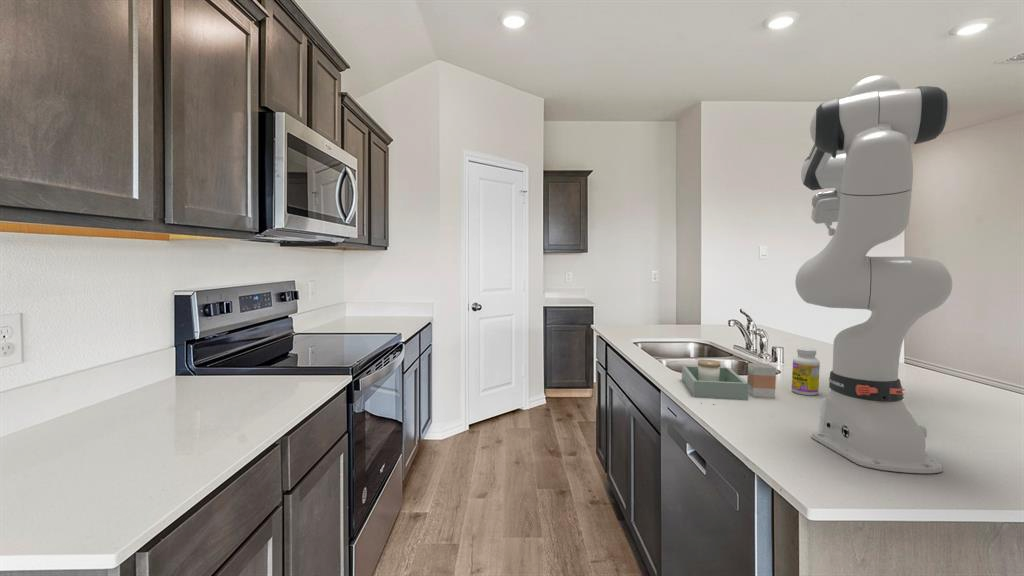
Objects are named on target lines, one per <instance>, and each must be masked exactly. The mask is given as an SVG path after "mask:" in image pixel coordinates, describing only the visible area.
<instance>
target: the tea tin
mask: <svg viewBox="0 0 1024 576" xmlns="http://www.w3.org/2000/svg"><path fill="white" fill-rule="evenodd" d="M776 375H777V368H776V367H775V366H774V365H772V364H770V363H762V362H761V363H757V362H748V363H747V376H746V377H747V381H746V382H747V383H748V395H750V396H751V397H752V398H762V399H763V398H764V399H775V398H776V382H777V381H776V380H777V378H776V377H777V376H776Z"/></svg>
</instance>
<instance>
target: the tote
mask: <svg viewBox="0 0 1024 576" xmlns="http://www.w3.org/2000/svg"><path fill="white" fill-rule="evenodd" d="M681 380H682V382H683V384H684V385H685V386H686V389H688V392H689V393H690V394H691V396H692V397H693V398H703V399H705V398H706V399H721V400H724V399H725V400H738V401H739V400H742V401H749V393H748V383H747V381H746V380H744V379H743V378H742V377H741V376H740V375H739V374H737V372H735V371H734V370H733V369H731V368H730V367H725V366H720V377H719V382H718V381H698V365H697V366H696V365H695V366H694V365H682V366H681Z"/></svg>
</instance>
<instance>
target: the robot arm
mask: <svg viewBox="0 0 1024 576" xmlns="http://www.w3.org/2000/svg"><path fill="white" fill-rule="evenodd" d="M947 94H948V93H947V92H946V91H945V90H943V89H942V88H940V87H939V86H932V85H931V86H929V85H925V86H924V85H921V86H916V87H914V88H902V87H901V85H900V84H899V83H898V81H897V80H896V79H894V78H893V77H892V76H889V75H884V74H883V75H882V74H879V75H878V74H876V75H869V76H867V77H865V78H862V79H861V80H859V81H858V82H856V83H854V85H853V86H852V87H851V88H850V90H849V91H848V92H847V95H846V96H845V97H842V98H840V99H839V97H837V98H836V97H835V98H832V99H830V100H827V101H826V100H825V101H824V102H822V103H820V104H819V106H817V108H816V109H815V112H814V114H813V116H812V118H811V121H810V127H809V132H810V133H809V134H810V136H811V140H812V142H813V143H814V144H813V146H812V148H811V150H810V153H809V155H808V156H807V157H806V158H805V160H804V161H803V162H804V163H803V164H802V166H801V172H800V173H801V174H800V175H801V176H800V177H801V178H800V179H801V182H802V184H803V185H804V187H806V188H808V189H809V190H811V191H819V190H820V192H818V193H816V194H815V195H814V196H813V197H812V199H811V205H812V211H811V216H810V217H811V221H812V222H814V223H815V224H816V225H817V224H818V225H819V224H824V225H825V226H826V228H827V230H828V232H827V233H828V235H829V237H832V238H831V239H830V240H829V242H828V244H826V245H825V247H824V248H823V249H822V250H821V251H820V252H818V253H817V254H816V255H815V256H813V257H812V258H810V259H808V260H807V261H805V262H804V263H803V264H802V265H801V266H800V268H799V269H798V271H797V272H796V275H795V281H794V282H795V283H794V285H795V289H796V292H797V294H798V295H799V297H800V298H801V299H802V300H803V301H804V303H806V304H810V305H814V306H820V307H824V308H829V309H830V308H832V309H849V310H850V309H853V310H856V309H857V310H867V311H870V312H871V314H870V316H869V318H868V319H867V320H866V321H864V322H862V323H859V324H855V325H852V326H850V327H847V328H844V329H843V330H841V331H839V332H838V333H837V334H836V335H835V337H834V339H833V348H832V370H831V371H830V372H829V377H828V381H829V385H828V388H829V389H830V390H829V392H828V394H827V395H826V396H825V397H824V398H823V399H822V400H821V406H820V412H819V413H820V414H819V421H818V422H819V424H818V430H815V431H812V432H811V439H813V440H815V441H817V442H819V443H820V444H822V445H824V446H826V447H827V448H828V449H831V450H832V451H834V452H835V453H838V454H839V455H841V456H842V457H844V458H847V459H848V460H849V461H851V462H853V463H854V464H857V465H859V466H861V467H865V468H871V469H876V470H881V471H887V472H888V471H889V472H897V473H906V474H907V473H908V474H909V473H910V474H936V473H938V474H939V473H941V472H943V466H942V464H941V463H939V462H938V461H937V460H936V459H935V458H934V457H932V455H930V453H928V452H927V447H926V446H927V445H926V444H927V443H926V438H927V435H928V433H927V428H926V426H924V425H919V424H918V423H917V421H916V419H915V418H914V417H913V414H911V412H910V411H909V409H908V408H907V406H906V404H905V403H904V401H903V399H904V395H905V392H903V391H905V389H904V388H903V386H902V383H901V380H900V378H899V364H900V358H901V357H900V355H901V350H902V346H903V341H904V339H905V337H906V335H907V333H908V332H909V330H910V329H911V327H913V325H914V324H915V323H916V322H918V320H919V319H921V318H922V317H923V316H925V315H927V314H928V313H930V312H932V311H934V310H935V309H938V308H939V307H940V306H942V305H943V304H945V302H946V301H947V300H948V299H949V297H950V296H951V294H952V293H951V292H952V290H953V279H952V275H951V273H950V271H949V269H948V268H947V267H946V266H945V265H944V264H943V263H942V262H940V261H938V260H934V259H927V258H923V257H914V256H869V255H867V254H868V252H870V251H871V250H872V249H873V248H875V247H876V246H878V245H881V244H883V243H886V242H889V241H890V240H892V239H895V238H897V237H898V236H899V235H901V234H902V233H903V232H904V231H905V230H906V228H907V227H908V225H909V221H910V211H911V203H912V202H911V201H912V192H913V182H914V181H913V179H914V178H913V176H914V175H913V174H914V173H913V172H914V167H913V165H914V164H913V155H912V153H913V152H912V147H911V144H914V145H918V144H923V143H927V142H930V141H933V140H935V139H936V138H938V137H939V136H940V135H941V134H942V133H943V132H944V128H945V127H946V125H947V123H948V121H949V119H950V115H951V103H950V100H949V98H948V95H947ZM825 189H834V190H830V191H824V192H823V191H822V192H821V190H825ZM833 223H837V224H836V228H834V227H833V228H832V227H831V226H832V225H833Z"/></svg>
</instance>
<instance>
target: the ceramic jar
mask: <svg viewBox="0 0 1024 576" xmlns="http://www.w3.org/2000/svg"><path fill="white" fill-rule="evenodd" d="M721 364H722V363H721V362H720V361H718V360H716V359H715V360H714V359H699V360H697V366H698V381H718V382H719V377H720V367H722V366H721Z"/></svg>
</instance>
